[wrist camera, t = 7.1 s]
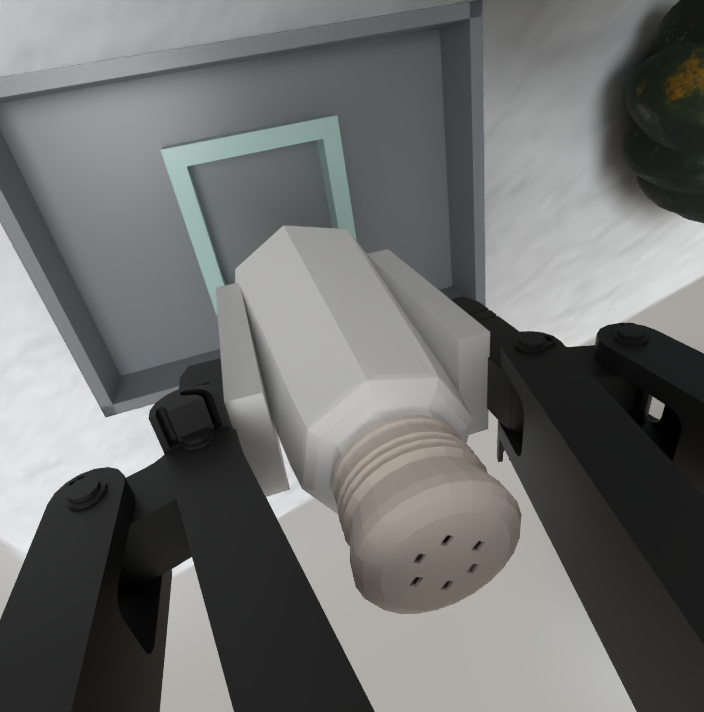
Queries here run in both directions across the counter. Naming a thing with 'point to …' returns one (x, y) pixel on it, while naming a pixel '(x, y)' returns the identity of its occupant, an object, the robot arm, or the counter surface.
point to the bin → (237, 177)
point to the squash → (670, 114)
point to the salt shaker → (373, 423)
